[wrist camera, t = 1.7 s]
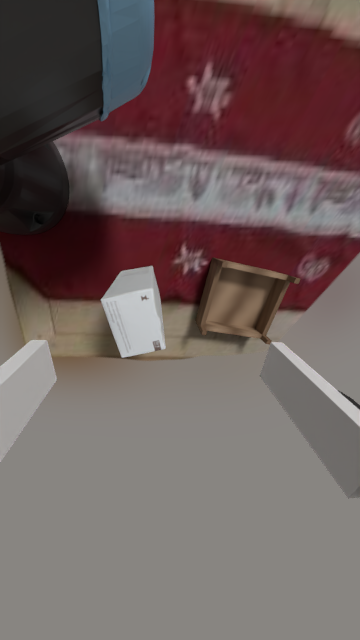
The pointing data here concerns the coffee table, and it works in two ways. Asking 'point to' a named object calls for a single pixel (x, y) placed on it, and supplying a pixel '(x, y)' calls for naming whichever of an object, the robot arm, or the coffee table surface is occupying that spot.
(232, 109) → the coffee table surface
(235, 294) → the box
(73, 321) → the coffee table surface
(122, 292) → the skincare box
